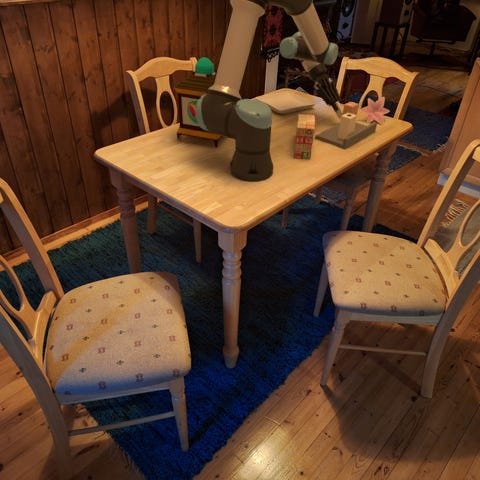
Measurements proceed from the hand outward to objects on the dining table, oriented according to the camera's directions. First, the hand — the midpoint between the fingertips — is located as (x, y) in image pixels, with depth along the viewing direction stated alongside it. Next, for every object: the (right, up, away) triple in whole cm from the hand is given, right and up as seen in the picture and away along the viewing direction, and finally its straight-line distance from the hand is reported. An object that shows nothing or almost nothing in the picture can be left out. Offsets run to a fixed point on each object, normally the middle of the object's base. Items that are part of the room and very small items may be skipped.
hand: (342, 116), depth 177 cm
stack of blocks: (-19, -16, -14) cm, 29 cm away
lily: (+16, +1, +9) cm, 18 cm away
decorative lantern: (-57, -11, -9) cm, 59 cm away
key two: (+2, -4, 0) cm, 4 cm away
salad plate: (-22, +11, +22) cm, 33 cm away
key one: (-1, -11, -11) cm, 16 cm away
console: (0, -9, -4) cm, 10 cm away
